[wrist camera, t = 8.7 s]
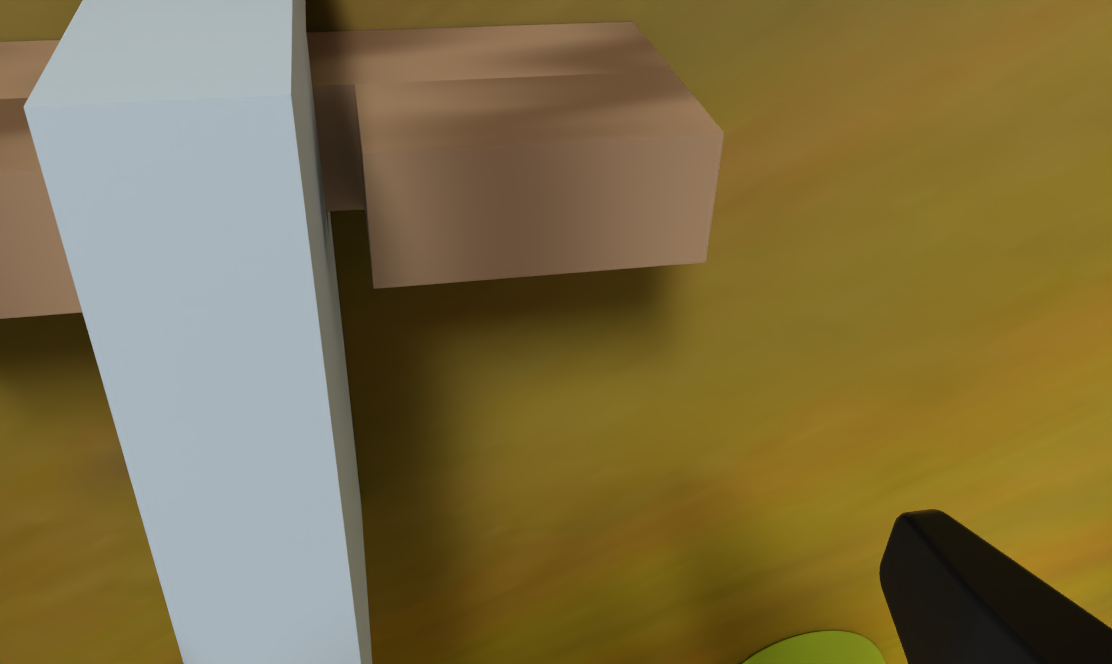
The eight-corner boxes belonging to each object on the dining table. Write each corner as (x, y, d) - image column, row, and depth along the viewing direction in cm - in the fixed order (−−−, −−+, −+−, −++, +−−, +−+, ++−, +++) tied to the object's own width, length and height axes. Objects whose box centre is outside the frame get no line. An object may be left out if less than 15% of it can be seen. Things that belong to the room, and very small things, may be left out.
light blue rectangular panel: (149, -120, 16) (23, 107, 8) (294, -121, 16) (290, 95, 9) (266, 515, 24) (252, 906, 17) (361, 504, 24) (387, 880, 17)
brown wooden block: (633, 21, 19) (724, 133, 15) (624, 132, 20) (705, 262, 16) (-215, 48, 16) (-386, 194, 12) (-162, 174, 17) (-301, 342, 13)
